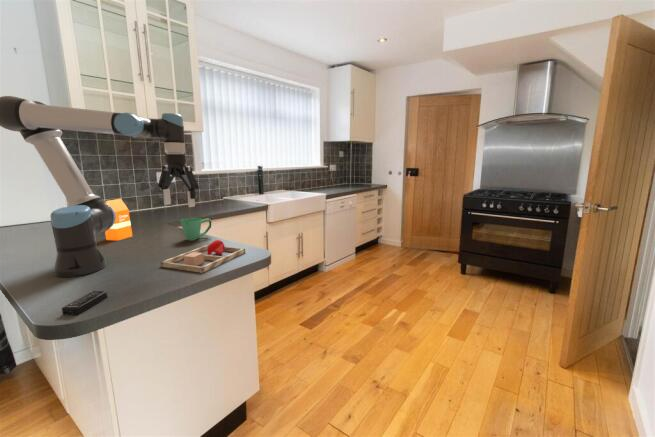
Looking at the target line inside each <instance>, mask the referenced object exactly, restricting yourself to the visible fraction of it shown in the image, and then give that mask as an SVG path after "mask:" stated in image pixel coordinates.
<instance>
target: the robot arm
mask: <svg viewBox="0 0 655 437" xmlns="http://www.w3.org/2000/svg"><path fill="white" fill-rule="evenodd" d="M0 127H1V128H3V129H6V130H9V131H11V132H19V134H20V135H21V137H22V138H23V140H24V141H25V142H26V143H29V144H31V145H33V147H34V148H35V150H36V151H37V153H38V154H39V157H40V158H41V159H42V161H43V163H44V164H45V166H46V167H47V169H48V171H49V173H50V174H51V175H52V177H53V179H54V181H55V182H56V184H57V185H58V187H59V189H60V190H61V192H62V194H63V195H64V197H65V199H66V200H67V201H68V205H67V206H65V207H64V206H63V207H60V208H58V209H55V210H54V211H52V212H51V213H50V225H51V228H52V234H53V238H54V243H55V248H56V259H55V263H54V267H53V271H54V275H55V277H59V278H71V277H78V276H85V275H88V274H92V273H95V272H97V271H100V270H103V269H104V268H106V265H107V263H106V259H105V257H104V255H103V254H102V253H101V250H100V249H99V247H98V245H97V244H98V243H97V239H96V236H97V235H99V234H102V233H105V231H107V230H108V229H110V228H111V227H112V226H113V225H114V223H115V220H116V214H115V211H114V210H113V208H112V207H111V206H109V205H107V204H105V203H106V202H104V200H103V199H102V197H101V196H99V195H96V194H95V193H93V190H92V189H91V187H90V186H89V184H88V183H87V180H86V178H85V177H84V176H83V174H82V172H81V170H80V169H79V167H78V165H77V164H76V162H75V160H74V158H73V157H72V155H71V154H70V152H69V150H68V149H67V147H66V145H65V143H64V142H63V140H62V138H61V137H62V135H63V131H62V130H64V131H76V132H87V133H95V134H96V133H97V134H107V135H108V134H109V135H118V136H125V137H126V136H127V137H132V138H134V139H135V138H136V139H163V144H164V153H166V154H165V155H164V156H165V157H164V158H165V163H166V165H161V174H160V177H159V180H158V184H157V187H158V188H161V190H162V196H163V205H165V206H166V205H167V206H168V205H172V200H171V199H172V198H171V189H170V187H169V186H171V184H172V182H173V180H174V179H175V178H179V179H180V180H182V182H183V184H184V185H185V187H186V188H187V189H188V190H187V204H188V208H193V207H196V201H195V200H196V191H197V190H199V189H200V186H199V184H198V182H197V179H196V177H195V176H194V173H193V169H192V166H191V165H186V164H187V157H186V144H185V143H186V142H185V126H184V120H183V115H181V114H179V113H171V112H164V113H162V114H161V118H147V117H143V116H140V115H136V114H134V113H131V112H115V111H106V110H97V109H96V110H95V109H87V108H85V109H84V108H79V107H78V108H76V107H69V106H67V107H66V106H57V105H50V104H49V105H48V104H45V103H43V102H41V101H36V100H31V99H25V98H21V97H18V96H13V95H3V96H0Z"/></svg>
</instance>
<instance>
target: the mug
mask: <svg viewBox="0 0 655 437" xmlns="http://www.w3.org/2000/svg"><path fill="white" fill-rule="evenodd" d="M206 222H208V223H209V224H208V226H207V228H206V229H205V231H203V232H201V230H202V228H201V227H202V224H203V223H206ZM180 226H181V228H182V231H183V232H182V233H184V236H185V238H186V239H187V241H196V239H197V240H198V239H199V238H200V237H203V236H204V235H206V234H207V233H208V232H209V231H210V229H212V220H211V219H210V218H203V219H202V218H201V217H190V218H189V217H188V218H183V219H180Z"/></svg>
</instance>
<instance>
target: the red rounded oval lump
mask: <svg viewBox="0 0 655 437" xmlns="http://www.w3.org/2000/svg"><path fill="white" fill-rule="evenodd" d="M208 245H209V246H208V249H207V250H206V253H207V254H206V255H212V253H215V254H216V255H218V256H222V255H223V253H224V252H225V251H224V248H225V244H224V242H223V241H222V240H220V239H217V240H214V241H212V242H210V244H208Z"/></svg>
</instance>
